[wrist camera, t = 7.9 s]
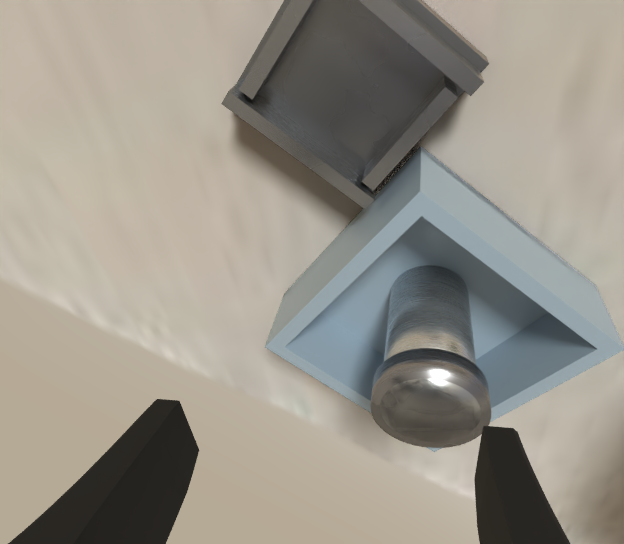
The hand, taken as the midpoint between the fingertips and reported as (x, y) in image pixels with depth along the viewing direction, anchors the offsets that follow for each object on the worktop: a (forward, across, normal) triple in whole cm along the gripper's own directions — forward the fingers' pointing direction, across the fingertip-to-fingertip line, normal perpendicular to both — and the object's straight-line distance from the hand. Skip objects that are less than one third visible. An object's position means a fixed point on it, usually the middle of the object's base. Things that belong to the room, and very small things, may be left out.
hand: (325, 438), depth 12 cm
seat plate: (+10, 0, -6) cm, 12 cm away
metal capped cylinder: (+10, -3, +3) cm, 10 cm away
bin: (+10, -3, +3) cm, 11 cm away
